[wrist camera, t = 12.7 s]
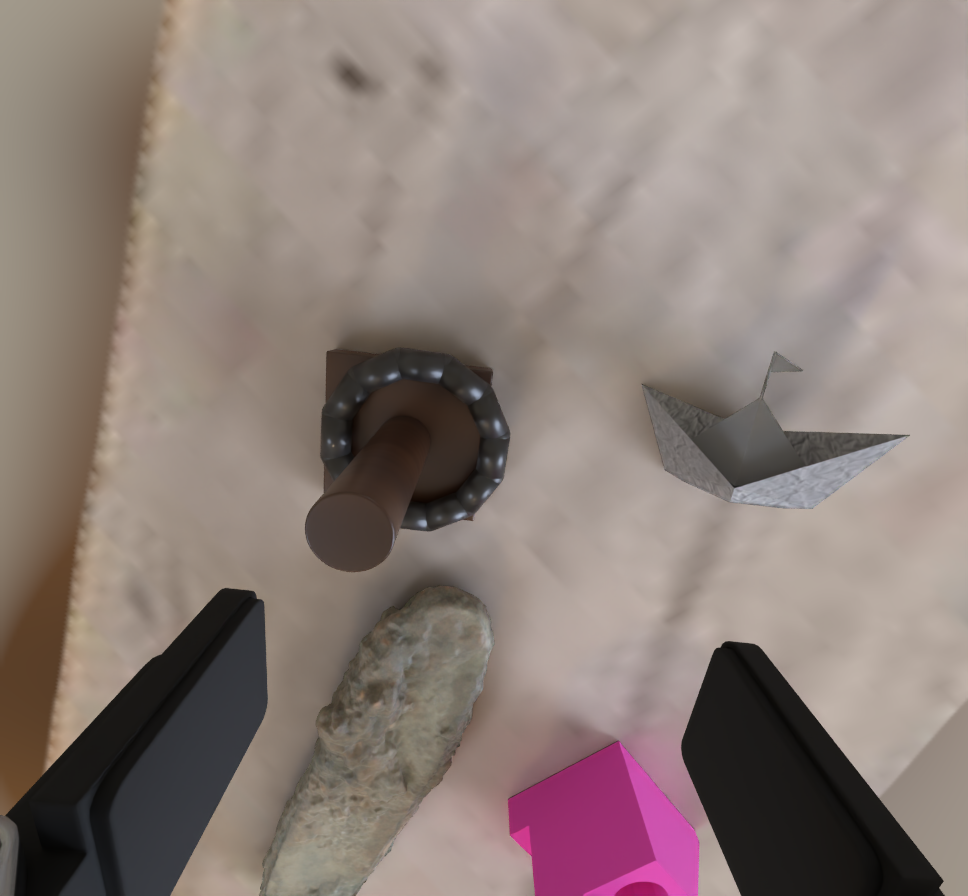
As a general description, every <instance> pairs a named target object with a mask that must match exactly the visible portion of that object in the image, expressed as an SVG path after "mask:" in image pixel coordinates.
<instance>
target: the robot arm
mask: <svg viewBox="0 0 968 896" xmlns="http://www.w3.org/2000/svg"><path fill="white" fill-rule="evenodd" d="M267 703H268V694H267V667H266V640H265V613H264V602H263V600H261V599H257V597H256V594H255V592H254V591H249V590H239V589H230V588H224V589H221V590H220V591H219V592H218V593H217V594H216V595H215V596H214V597H213V598H212V600H211V601H210V602H209V603H208V604H207V605H206V606H205V607H204V608H203V609H202V611H201V612H200V613H199V614H198V615H197V616H196V617H195V618H194V619H193V620H192V622H191V623H190V624H189V625H188V626H187V627H186V628H185V629H184V630H183V631H182V633H181V634H180V635H179V636H178V637H177V638H176V639H175V640H174V641H173V642H172V644H171V645H170V646H169V647H168V648H167V649H166V650H165V651H164V652H163V653H162V655H158V656H156V657H154V658H152V659H151V660H150V661H149V662H148V663H147V664H146V665H145V666H144V667H143V668H142V669H141V670H140V671H139V672H138V673H137V674H136V675H135V676H134V677H133V679H132V680H131V681H130V682H129V683H128V684H127V685H126V686H125V687H124V688H123V689H122V690H121V691H120V693H119V694H118V695H117V696H116V697H115V698H114V699H113V700H112V701H111V702H110V703H109V704H108V705H107V707H106V708H105V709H104V710H103V711H102V712H101V713H100V714H99V715H98V716H97V717H96V718H95V719H94V721H93V722H92V723H91V724H90V725H89V726H88V727H87V728H86V729H85V730H84V731H83V732H82V733H81V735H80V736H79V737H78V738H77V739H76V740H75V741H74V742H73V743H72V744H71V745H70V746H69V747H68V749H67V750H66V751H65V752H64V753H63V754H62V755H61V756H60V757H59V758H58V759H57V760H56V761H55V763H54V764H53V765H52V766H51V767H50V768H49V769H48V770H47V771H46V772H45V773H44V774H43V775H42V777H41V778H40V779H39V780H38V781H37V782H36V783H35V784H34V785H33V786H32V787H31V789H29V791H28V792H27V793H26V794H25V795H24V796H23V797H22V798H21V799H20V800H19V801H18V802H17V803H16V805H15V806H14V807H13V808H12V809H11V810H10V811H9V812H8V813H7V814H6V815H5V816H2V815H0V896H170V895H171V893H172V891H173V889H174V887H175V885H176V883H177V881H178V879H179V878H180V876H181V874H182V872H183V870H184V868H185V866H186V864H187V862H188V861H189V859H190V857H191V855H192V853H193V851H194V849H195V847H196V845H197V844H198V842H199V840H200V838H201V836H202V834H203V832H204V830H205V828H206V826H207V825H208V823H209V821H210V819H211V817H212V815H213V813H214V811H215V809H216V808H217V806H218V804H219V802H220V800H221V798H222V796H223V794H224V792H225V791H226V789H227V787H228V785H229V783H230V781H231V779H232V777H233V775H234V773H235V772H236V770H237V768H238V766H239V764H240V762H241V760H242V758H243V756H244V755H245V753H246V751H247V749H248V747H249V745H250V743H251V741H252V739H253V738H254V736H255V734H256V732H257V730H258V728H259V726H260V724H261V722H262V720H263V718H264V715H265V712H266V708H267ZM681 750H682V756H683V760H684V763H685V765H686V768H687V770H688V772H689V775H690V777H691V779H692V782H693V784H694V786H695V789H696V791H697V793H698V796H699V798H700V800H701V803H702V805H703V807H704V810H705V812H706V814H707V817H708V819H709V821H710V824H711V826H712V828H713V831H714V833H715V835H716V838H717V840H718V842H719V845H720V847H721V849H722V852H723V854H724V856H725V859H726V861H727V864H728V866H729V868H730V871H731V873H732V875H733V878H734V880H735V882H736V885H737V887H738V889H739V892H740V894H741V896H945V895H943V893H942V891H941V890H940V889H939V887H940V886H941V884H942V883H943V880H942V878H941V877H940V876H939V874H938V873H937V872H936V870H935V869H934V868H933V867H932V865H931V864H930V863H929V862H928V860H927V859H926V858H925V857H924V855H923V854H922V853H921V852H920V850H919V849H918V848H917V846H916V845H915V844H914V843H913V841H912V840H911V839H910V837H909V836H908V835H907V834H906V832H905V831H904V830H903V829H902V827H901V826H900V825H899V823H898V822H897V821H896V820H895V818H894V817H893V816H892V814H891V813H890V812H889V811H888V809H887V808H886V807H885V806H884V804H883V803H882V802H881V800H880V799H879V798H878V797H877V795H876V794H875V793H874V792H873V790H872V789H871V788H870V786H869V785H868V784H867V783H866V781H865V780H864V779H863V778H862V776H861V775H860V774H859V772H858V771H857V770H856V769H855V767H854V766H853V765H852V764H851V762H850V761H849V760H848V758H847V757H846V756H845V755H844V753H843V752H842V751H841V750H840V748H839V747H838V746H837V744H836V743H835V742H834V741H833V739H832V738H831V737H830V736H829V734H828V733H827V732H826V730H825V729H824V728H823V727H822V725H821V724H820V723H819V722H818V720H817V719H816V718H815V716H814V715H813V714H812V713H811V711H810V710H809V709H808V708H807V706H806V705H805V704H804V702H803V701H802V700H801V699H800V697H799V696H798V695H797V694H796V692H795V691H794V690H793V688H792V687H791V686H790V685H789V683H788V682H787V681H786V680H785V678H784V677H783V676H782V675H781V673H780V672H779V671H778V669H777V668H776V667H775V666H774V664H773V663H772V662H771V661H770V659H769V658H768V657H767V655H766V654H765V653H764V652H763V650H762V649H761V648H760V647H759V646H757V645H755V644H750V643H740V642H731V641H727V642H725V643H723V644H722V646H721V648H716V649H715V651H714V652H713V655H712V658H711V661H710V663H709V666H708V669H707V672H706V675H705V677H704V680H703V683H702V686H701V689H700V691H699V694H698V697H697V700H696V703H695V705H694V708H693V711H692V714H691V717H690V719H689V722H688V725H687V728H686V731H685V733H684V736H683V739H682V744H681Z"/></svg>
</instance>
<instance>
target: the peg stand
mask: <svg viewBox="0 0 968 896" xmlns="http://www.w3.org/2000/svg"><path fill="white" fill-rule="evenodd" d="M378 355H380V354H373V353H365V352H357V351H349V350H341V349H334V350H330V351H327V357H326V402H327V401H328V399H329V398H330V396H331V395H332V393H333V392H334V390H335V389H336V387H337V386H338V384H339V383H340V381H341V380H342V378H343V377H344V376H345V374H346V373H347V371H348V370H349V369H350V368H351V367H353V366H355V365H357V364H359V363H362V362H364V361H366V360H369V359H371V358H373V357H376V356H378ZM465 366H466V367H468V368H469V369H470V370H471V371H473V372H474V373H475V374H477V375H478V376H479V377H481V378H482V379H483V380H484V381H486V382H487V383H488V384H489V385H490V386H491V385H492V378H493V370H492V369H491V368H484V367H476V366H468V365H465ZM480 437H481V436H480V434H479V432H478V429H477V427H476V425H475V422H474V420H473V418H472V415H471V413H470V411H469V408H468V406H467V405H466V404H465V403H463V402H462V401H461V400H459V399H458V398H457V397H455V396H454V395H453V394H451V393H450V392H449V391H447V390H446V389H445V388H443V387H442V386H441V385H439V384H435V383H428V382H420V381H413V380H406V379H402V380H400V381H397V382H395V383H393V384H390V385H388V386H386V387H383V388H381V389H378V390H376V391H374V392H371V394H370V395H369V397H368V398H367V399H366V401H365V402H364V404H363V405H362V407H361V408H360V409H359V411H358V412H357V414H356V415H355V416H354V418H353V423H352V443H351V452H352V454H353V456H354V459H353V460H352V461H351V462H350V463H349V465H348V466H347V467H346V468H345V469H344V470H343V472H342V473H341V474H340V475H339V476H338V477H337V479H336V480H335V481H334V482H333V480H332V478H331V476H330V474H329V473H328V471H327V469H326V467H325V465H324V494H323V495H322V496H321V497H320V498H319V499H318V501H317V502H316V503H315V504H314V505H313V507H312V508H311V509H310V511H309V513H308V515H307V518H306V522H305V534H306V539H307V542H308V544H309V546H310V548H311V550H312V551H313V553H314V554H315V555H316V556H317V557H318V558H319V559H320V560H321V561H322V562H324V563H325V564H327V565H328V566H330V567H332V568H335V569H337V570H341V571H346V572H361V571H366V570H369V569H371V568H373V567H376V566H377V565H379V564H380V563H382V562H383V561H384V560H385V559H386V558H387V557H388V555H389V554H390V552H391V550H392V548H393V546H394V543H395V540H396V538H397V535H398V532H399V530H400V527H401V524H402V522H403V519H404V516H405V514H406V511H407V508H408V506H409V503H410V501H413V502H421V503H429V502H431V501H434V500H437V499H439V498H442V497H444V496H447V495H450V494H452V493H455V492H457V491H458V490H459V488H460V487H461V486H462V485H463V483H464V482H465V481H466V480H467V479H468V477H469V476H470V475H471V474H472V472H473V471H474V470H475V469H476V466H477V459H478V451H479V444H480ZM474 516H475V514H474V515H472V516H470V517H468V518H465V519H463V520H470V521H473V520H474Z"/></svg>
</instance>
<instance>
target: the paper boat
mask: <svg viewBox="0 0 968 896" xmlns="http://www.w3.org/2000/svg"><path fill="white" fill-rule="evenodd" d="M796 371H803V370H802V369H801V368H799V367H798V366H796V365H795V364H793V363H792V362H790V361H789V360H787V359H786V358H784V357H783V356H781V355H780V354H778V353H777V352H774V353H773V356H772V360H771V363H770V366H769V369H768V373H767V376H766V379H765V382H764V386H763V389H762V392H761V395H760V398H759V399H757V400H756V401H754V402H752V403H751V404H749V405H747V406H746V407H744V408H742V409H741V410H739V411H737V412H736V413H734V414H732V415H731V416H729V417H727V418H726V419H723V418H721V417H718V416H716V415H713V414H711V413H709V412H706V411H704V410H702V409H699V408H697V407H695V406H692V405H690V404H688V403H685V402H683V401H680V400H678V399H676V398H673V397H671V396H669V395H666V394H664V393H662V392H659V391H657V390H655V389H652V388H650V387H647V386H645V385H643V384H642V387H643V391H644V395H645V398H646V402H647V406H648V409H649V413H650V417H651V421H652V424H653V428H654V432H655V435H656V439H657V443H658V446H659V450H660V454H661V457H662V461H663V465H664V468H665V470H666V471H667V472H669V473H671V474H672V475H674V476H676V477H677V478H679V479H681V480H682V481H684V482H686V483H688V484H691V485H693V486H695V487H697V488H699V489H702V490H704V491H706V492H708V493H710V494H713V495H715V496H717V497H719V498H721V499H724V500H726V501H728V502H733V503H742V504H751V505H760V506H768V507H777V508H803V509H813V508H814V507H815V506H816V505H818V504H819V503H820V502H822V501H823V500H824V499H826V498H827V497H828V496H830V495H831V494H832V493H834V492H835V491H836V490H838V489H839V488H840V487H842V486H843V485H844V484H846V483H847V482H848V481H850V480H851V479H852V478H854V477H855V476H856V475H858V474H859V473H860V472H862V471H863V470H864V469H866V468H867V467H868V466H870V465H871V464H872V463H874V462H875V461H876V460H878V459H879V458H880V457H882V456H883V455H884V454H886V453H887V452H888V451H890V450H891V449H892V448H894V447H895V446H896V445H898V444H899V443H900V442H902V441H903V440H904V439H906V438H907V437H908V436H910V435H892V434H859V433H825V432H792V431H783V430H782V429H781V427H780V426H779V424H778V422H777V421H776V419H775V418H774V416H773V414H772V413H771V411H770V410H769V408H768V406H767V405H766V403H765V401H764V400H763V395H764V392H765V389H766V386H767V382H768V379H769V376H770V373H771V372H796Z"/></svg>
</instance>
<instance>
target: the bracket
mask: <svg viewBox="0 0 968 896" xmlns="http://www.w3.org/2000/svg"><path fill="white" fill-rule="evenodd" d="M508 808H509V827H510V836H511V837H512V838H513V839H514V840H515V841H516V842H517V843H518V844H519V845H520V846H521V847H522V848H523V849H524V850H525V851H527V852H528V853H529V854H530V855H531V856H532V866H533V877H534V888H535V896H698V871H699V840H698V838H697V835H696V833H695V830H694V829H693V828H692V827H691V826H690V824H689V823H688V822H687V821H686V820H685V818H684V817H683V816H682V815H681V814H680V813H679V811H678V810H677V809H676V808H675V807H674V806H673V804H672V803H671V802H670V801H669V800H668V798H667V797H666V796H665V795H664V794H663V793H662V791H661V790H660V789H659V788H658V787H657V785H656V784H655V783H654V782H653V781H652V780H651V778H650V777H649V776H648V775H647V774H646V773H645V771H644V770H643V769H642V768H641V767H640V765H639V764H638V763H637V762H636V761H635V760H634V758H633V757H632V756H631V755H630V754H629V752H628V751H627V750H626V749H625V748H624V747H623V745H622V744H621V743H620V742H619V741H617V742H616V743H614V744H612V745H610V746H608V747H606V748H604V749H602V750H600V751H598V752H597V753H595V754H593V755H591V756H589V757H587V758H585V759H583V760H581V761H580V762H578V763H576V764H574V765H572V766H570V767H568V768H566V769H564V770H563V771H561V772H559V773H557V774H555V775H553V776H551V777H549V778H547V779H545V780H544V781H542V782H540V783H538V784H536V785H534V786H532V787H530V788H528V789H527V790H525V791H523V792H521V793H519V794H517V795H515V796H513V797H511V798H510V799H508Z"/></svg>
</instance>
